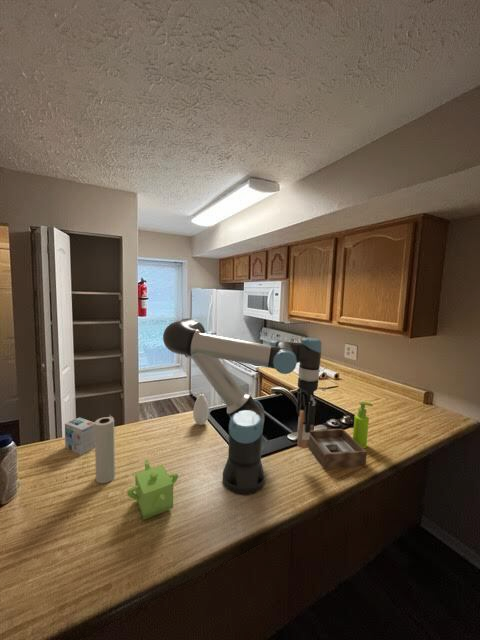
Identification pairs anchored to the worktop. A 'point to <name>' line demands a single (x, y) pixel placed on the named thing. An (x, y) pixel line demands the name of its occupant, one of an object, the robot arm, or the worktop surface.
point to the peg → (301, 442)
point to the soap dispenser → (361, 425)
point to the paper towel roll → (104, 449)
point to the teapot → (153, 490)
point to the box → (340, 441)
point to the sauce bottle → (201, 410)
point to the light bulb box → (80, 435)
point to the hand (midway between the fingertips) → (303, 435)
